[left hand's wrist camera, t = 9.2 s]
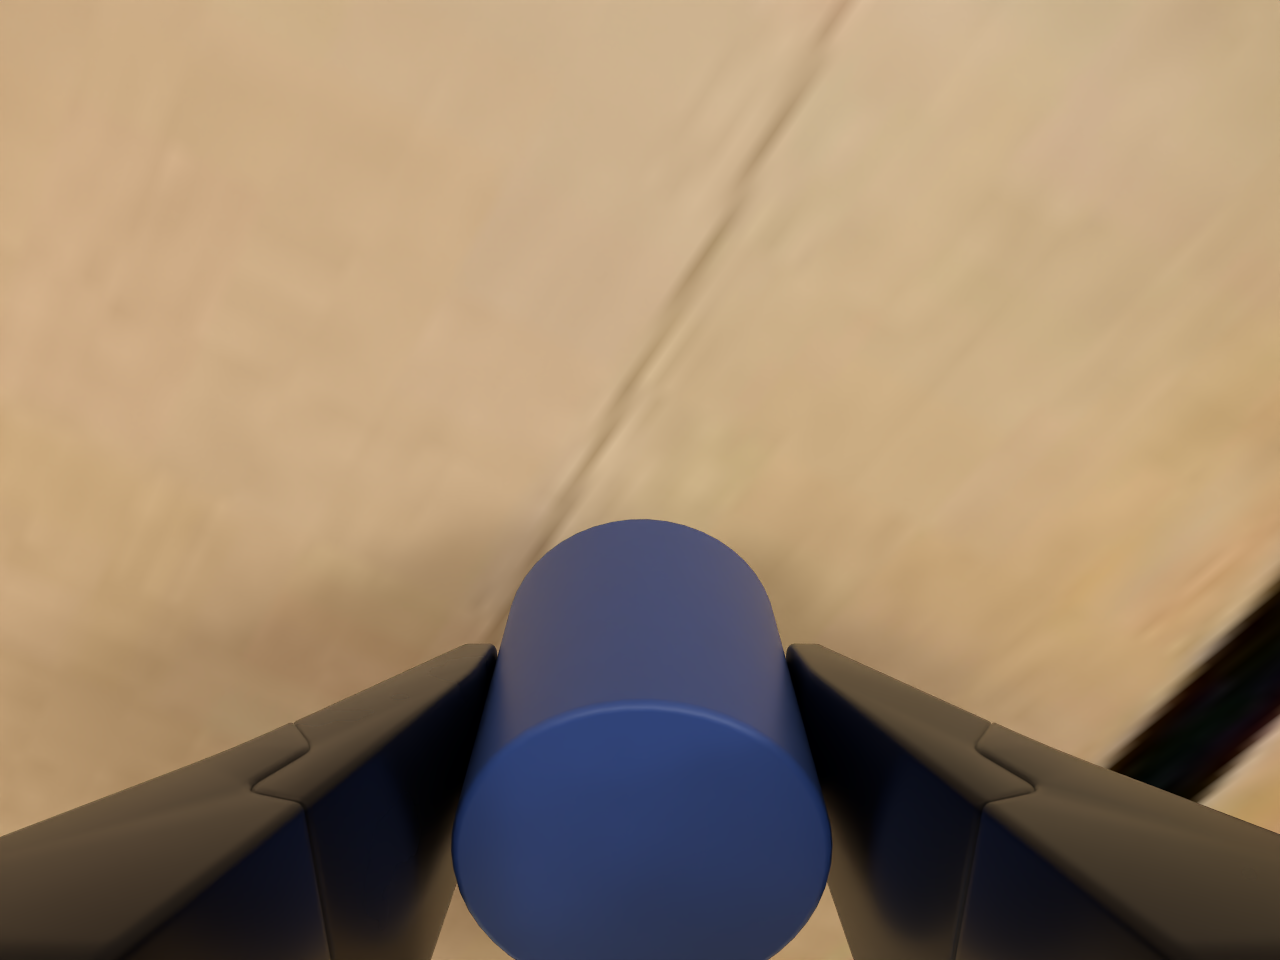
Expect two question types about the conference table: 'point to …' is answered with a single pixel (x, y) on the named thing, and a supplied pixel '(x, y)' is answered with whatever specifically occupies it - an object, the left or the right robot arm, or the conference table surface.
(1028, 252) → the conference table surface
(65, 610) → the conference table surface
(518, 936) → the cylinder
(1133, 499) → the conference table surface
